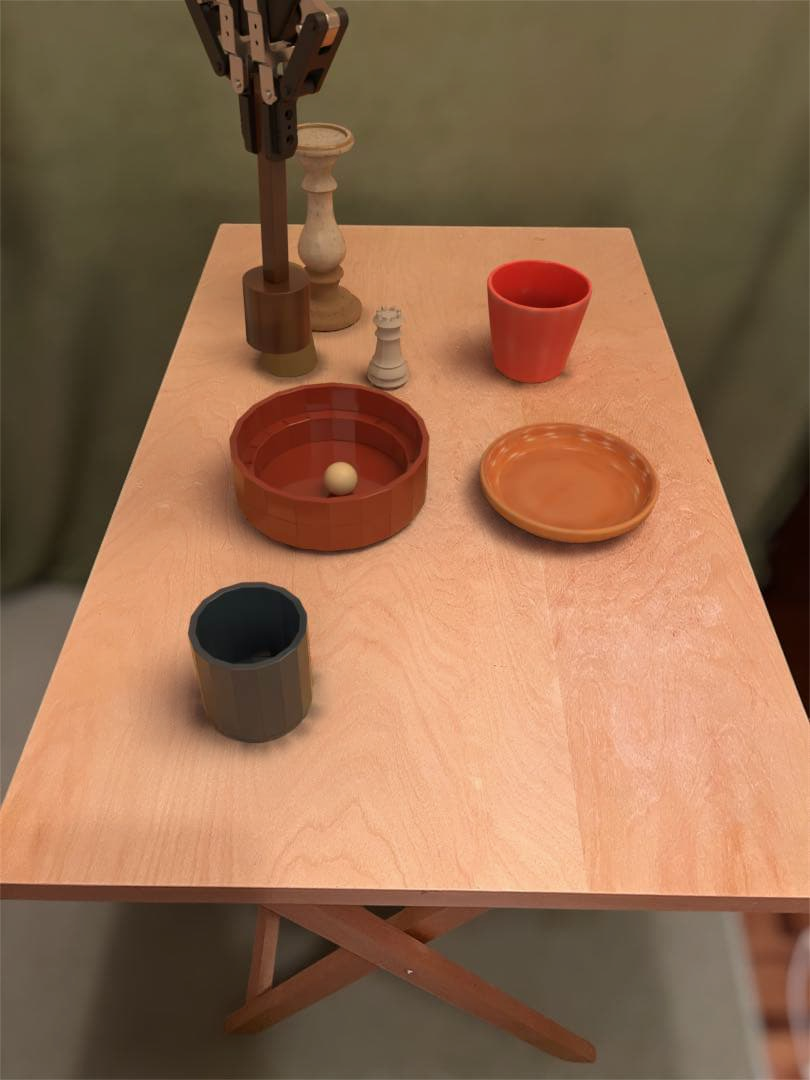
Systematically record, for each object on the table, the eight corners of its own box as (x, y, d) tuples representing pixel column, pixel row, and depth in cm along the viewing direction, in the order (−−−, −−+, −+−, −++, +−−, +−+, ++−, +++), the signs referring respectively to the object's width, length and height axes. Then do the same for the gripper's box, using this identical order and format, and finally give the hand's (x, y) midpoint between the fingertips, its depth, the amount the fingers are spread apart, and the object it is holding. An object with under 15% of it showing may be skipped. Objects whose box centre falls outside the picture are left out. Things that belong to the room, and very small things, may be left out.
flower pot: (597, 379, 98) (613, 297, 91) (506, 400, 95) (516, 315, 88) (549, 332, 105) (561, 252, 98) (463, 349, 102) (469, 268, 95)
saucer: (518, 427, 91) (521, 402, 89) (674, 477, 86) (681, 452, 84) (447, 519, 81) (449, 493, 79) (620, 583, 76) (626, 557, 73)
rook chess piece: (394, 395, 95) (395, 327, 89) (359, 382, 97) (357, 314, 91) (416, 375, 98) (419, 308, 92) (381, 363, 99) (381, 296, 94)
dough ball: (315, 492, 81) (339, 503, 83) (340, 483, 79) (363, 495, 81) (317, 462, 82) (340, 474, 84) (342, 453, 80) (365, 465, 82)
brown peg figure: (283, 341, 102) (276, 248, 95) (328, 357, 100) (324, 263, 93) (250, 366, 98) (239, 271, 91) (296, 383, 96) (289, 287, 89)
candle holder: (271, 316, 106) (256, 136, 93) (319, 288, 112) (311, 113, 98) (329, 340, 103) (322, 156, 89) (376, 310, 108) (377, 132, 94)
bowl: (329, 585, 75) (327, 531, 70) (198, 491, 83) (188, 438, 79) (464, 489, 84) (469, 436, 80) (334, 413, 92) (332, 362, 88)
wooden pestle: (276, 361, 68) (264, 89, 56) (232, 337, 71) (212, 70, 58) (324, 339, 71) (323, 75, 59) (280, 317, 74) (270, 59, 61)
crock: (252, 762, 62) (240, 689, 57) (181, 699, 66) (164, 625, 60) (334, 695, 66) (331, 622, 61) (264, 639, 70) (254, 565, 65)
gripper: (118, -177, 51) (163, 141, 63) (283, -150, 45) (299, 199, 57) (222, -183, 55) (246, 117, 67) (386, -159, 49) (382, 168, 61)
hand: (270, 153), depth 62 cm, fingers closed on wooden pestle, 1 cm apart
